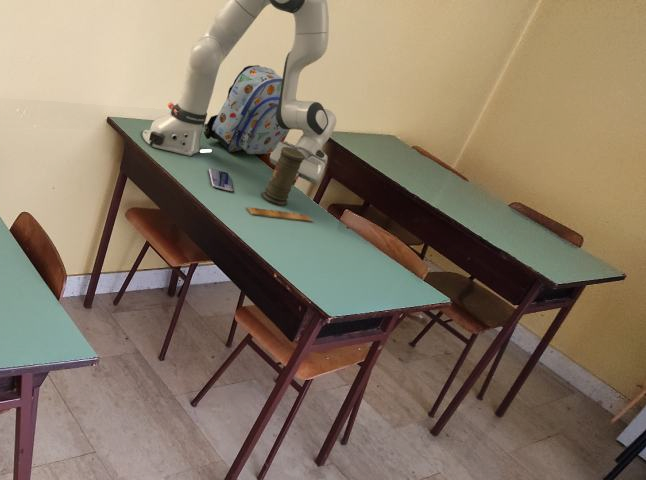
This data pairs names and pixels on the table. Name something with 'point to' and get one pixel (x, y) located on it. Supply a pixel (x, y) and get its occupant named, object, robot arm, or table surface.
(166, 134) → the robot arm
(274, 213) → the ruler
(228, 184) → the mobile phone
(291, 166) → the container
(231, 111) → the backpack
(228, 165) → the table surface
